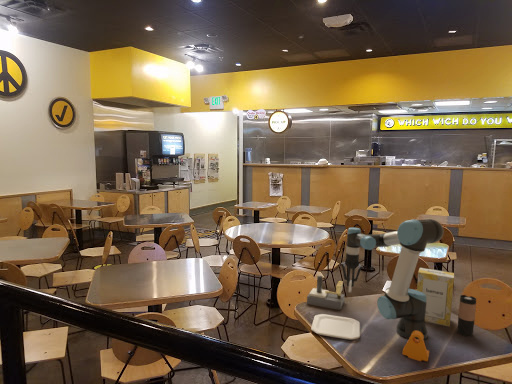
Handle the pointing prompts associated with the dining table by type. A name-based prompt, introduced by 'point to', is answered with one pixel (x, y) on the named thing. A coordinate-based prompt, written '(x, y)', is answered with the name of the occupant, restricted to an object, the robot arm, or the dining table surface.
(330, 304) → the block
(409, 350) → the bracket
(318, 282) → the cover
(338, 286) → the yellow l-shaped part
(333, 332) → the plate
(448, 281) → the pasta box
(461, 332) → the travel mug
